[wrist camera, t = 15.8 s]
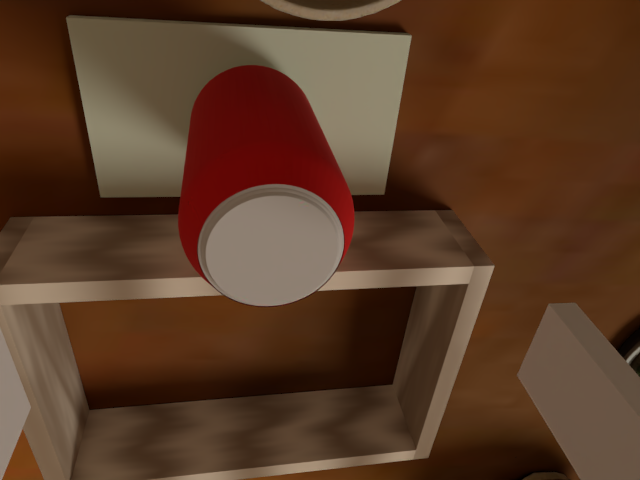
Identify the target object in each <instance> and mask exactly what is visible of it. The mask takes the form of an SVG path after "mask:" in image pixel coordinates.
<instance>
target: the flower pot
mask: <svg viewBox="0 0 640 480" xmlns="http://www.w3.org/2000/svg"><path fill="white" fill-rule="evenodd" d="M260 1H262V2H264V3H266V4H268V5H270V6H271V7H273V8H275V9H277V10H280V11H283V12H285V13H289V14H291V15H294V16H299V17H302V18H307V19H312V20H322V21H342V20H349V19H355V18H359V17H362V16H365V15H369V14H373V13H376V12H379V11H380V10H382V9H385V8H388V7H390V6H391V5H394V4H396V3H397V2H399V1H401V0H260Z"/></svg>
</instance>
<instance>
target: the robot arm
mask: <svg viewBox="0 0 640 480" xmlns="http://www.w3.org/2000/svg"><path fill="white" fill-rule="evenodd" d="M517 376H518V378H519V379H520V381H521V383H522V384H523V386H524V388H525V389H526V391H527V392H528V394H529V396H530V397H531V399H532V401H533V402H534V404H535V406H536V407H537V409H538V411H539V412H540V414H541V416H542V417H543V419H544V420H545V422H546V424H547V425H548V427H549V429H550V430H551V432H552V434H553V435H554V437H555V439H556V440H557V442H558V444H559V445H560V447H561V448H562V450H563V452H564V453H565V455H566V457H567V458H568V460H569V462H570V463H571V465H572V467H573V468H574V470H575V472H576V473H577V475H578V476H579V478H580V480H640V377H639V376H638V375H637V373H636V372H635V371H634V370H633V369H632V368H631V367H630V365H629V364H628V363H627V362H626V361H625V360H624V358H623V357H622V356H621V355H620V354H619V353H618V352H617V350H616V349H615V348H614V347H613V346H612V345H611V343H610V342H609V341H608V340H607V339H606V338H605V337H604V335H603V334H602V333H601V332H600V331H599V330H598V328H597V327H596V326H595V325H594V324H593V323H592V322H591V320H590V319H589V318H588V317H587V316H586V315H585V313H584V312H583V311H582V310H581V309H580V308H579V307H578V305H577V304H576V303H557V304H549V305H548V307H547V309H546V311H545V314H544V316H543V318H542V320H541V323H540V325H539V327H538V329H537V332H536V334H535V336H534V338H533V341H532V343H531V345H530V347H529V350H528V352H527V354H526V356H525V359H524V361H523V363H522V365H521V368H520V370H519V372H518V374H517ZM30 409H31V406H30V403H29V401H28V398H27V396H26V393H25V390H24V388H23V385H22V383H21V380H20V377H19V375H18V372H17V370H16V367H15V364H14V362H13V359H12V357H11V354H10V352H9V349H8V346H7V344H6V341H5V339H4V336H3V333H2V331H1V328H0V480H2V478H3V475H4V473H5V470H6V468H7V465H8V463H9V460H10V458H11V456H12V453H13V451H14V448H15V446H16V443H17V441H18V438H19V436H20V433H21V431H22V428H23V426H24V424H25V421H26V419H27V416H28V414H29V411H30Z"/></svg>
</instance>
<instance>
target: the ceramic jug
mask: <svg viewBox="0 0 640 480" xmlns="http://www.w3.org/2000/svg"><path fill="white" fill-rule="evenodd" d="M515 458H516V457H515ZM522 480H570V479H569V478H567V477H566V475H564V474H561V473H557V472H539V473H532V474H530V475H528V476H527V477H525V478H524V479H522Z"/></svg>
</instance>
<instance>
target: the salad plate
mask: <svg viewBox="0 0 640 480" xmlns="http://www.w3.org/2000/svg"><path fill="white" fill-rule="evenodd" d="M618 353H619V354H620V355H621V356H622V357H623V358H624V360H625V361H626V362H627V363H628V364H629V365H630V367H631V368H632V369H633V370H634V371H635V372H636V373H637V375H638V376H639V377H640V329H638V330H637V331H636V332H635V333H634V334H632V335H631V336H630V337H629V338H628V339H627V341H626V342H625V343H624V344H623V345H622V347H621V348H620V350H619V352H618Z"/></svg>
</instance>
